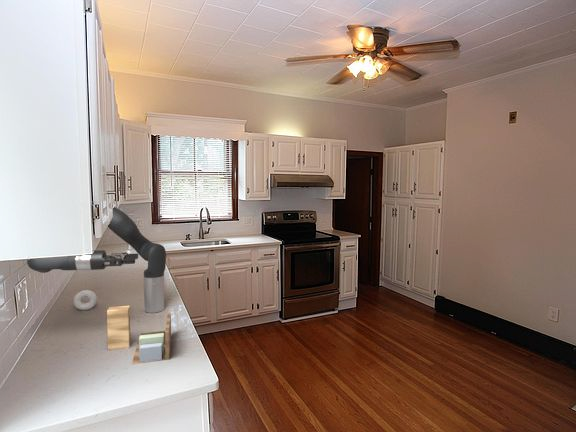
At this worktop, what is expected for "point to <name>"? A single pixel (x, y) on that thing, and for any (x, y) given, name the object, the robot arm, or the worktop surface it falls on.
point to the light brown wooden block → (118, 327)
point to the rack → (166, 342)
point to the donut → (85, 293)
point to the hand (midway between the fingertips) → (136, 258)
